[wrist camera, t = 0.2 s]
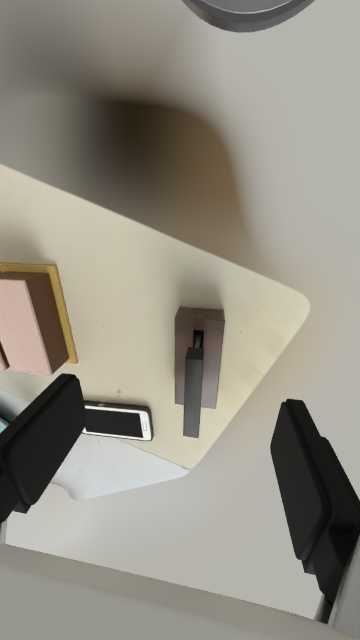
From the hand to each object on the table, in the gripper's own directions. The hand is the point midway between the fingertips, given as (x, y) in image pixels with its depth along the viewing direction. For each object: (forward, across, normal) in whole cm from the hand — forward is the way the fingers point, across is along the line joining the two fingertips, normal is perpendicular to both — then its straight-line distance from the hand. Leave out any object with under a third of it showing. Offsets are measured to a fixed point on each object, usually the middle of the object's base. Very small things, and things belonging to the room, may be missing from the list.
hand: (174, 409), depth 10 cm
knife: (+20, 0, +10) cm, 22 cm away
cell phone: (+20, +15, +26) cm, 36 cm away
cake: (+20, +28, +6) cm, 35 cm away
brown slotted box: (+20, 0, +10) cm, 22 cm away
